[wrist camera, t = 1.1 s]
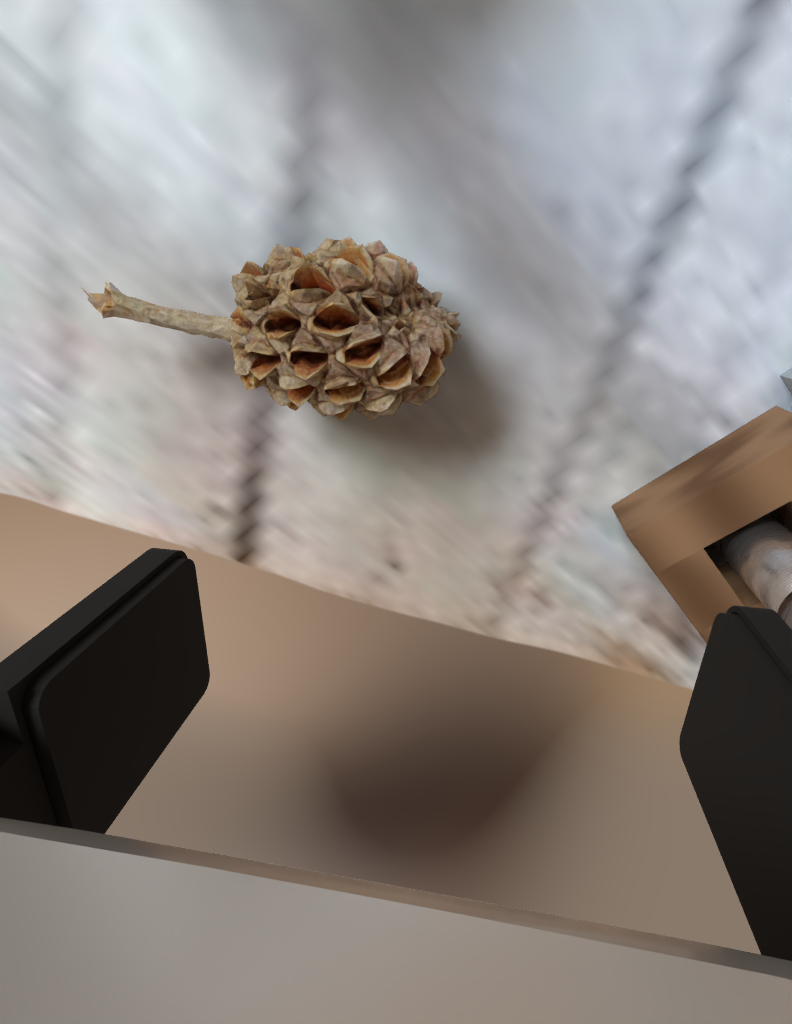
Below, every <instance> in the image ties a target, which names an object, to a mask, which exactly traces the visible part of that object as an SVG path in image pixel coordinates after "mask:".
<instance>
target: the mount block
mask: <svg viewBox="0 0 792 1024" xmlns="http://www.w3.org/2000/svg"><path fill="white" fill-rule="evenodd" d="M612 508H613V510H614V512H615V514H616V516H617V518H618V519H619V521H620V523H621V525H622V527H623V529H624V531H625V533H626V534H627V536H628V538H629V539H630V541H631V542H632V543H633V545H634V546H635V547H636V549H637V550H638V551H639V553H640V554H641V555H642V557H643V558H644V559H645V561H646V562H647V563H648V565H649V566H650V568H651V569H652V570H653V572H654V573H655V574H656V576H657V577H658V578H659V580H660V581H661V582H662V584H663V585H664V586H665V588H666V589H667V590H668V592H669V593H670V594H671V596H672V597H673V599H674V600H675V601H676V603H677V604H678V605H679V607H680V608H681V609H682V611H683V612H684V613H685V615H686V616H687V617H688V619H689V620H690V621H691V623H692V624H693V625H694V627H695V628H696V629H697V631H698V632H699V634H700V635H701V636H702V638H703V639H704V640H705V642H706V643H707V642H708V639H709V636H710V632H711V629H712V625H713V622H714V619H715V617H716V616H717V614H719V613H726V612H727V610H728V609H729V608H730V607H732V606H734V605H735V606H745V607H755V608H765V609H767V608H766V607H765V606H764V605H763V604H762V602H761V601H760V600H759V599H758V598H757V597H756V595H755V594H754V593H753V592H752V591H751V589H750V588H749V587H748V586H747V585H746V584H745V582H744V581H743V580H742V579H741V578H740V576H739V575H738V574H737V573H736V572H735V571H734V569H733V568H732V567H731V566H730V565H729V563H727V564H725V565H723V566H721V567H719V568H717V567H716V566H715V564H714V563H713V561H712V560H711V559H710V557H709V556H708V554H707V553H706V551H705V550H704V549H703V548H705V547H706V546H708V545H710V544H712V543H714V542H716V541H718V540H719V539H721V538H723V537H725V536H727V535H729V534H731V533H732V532H734V531H736V530H738V529H740V528H742V527H744V526H745V525H747V524H749V523H751V522H753V521H755V520H757V519H758V518H760V517H762V516H764V515H766V514H768V513H769V512H771V511H773V510H775V509H776V511H777V512H778V514H779V515H780V517H781V518H782V520H783V521H784V523H785V524H786V526H787V527H788V529H789V530H790V532H791V533H792V413H791V412H789V411H786V410H784V409H782V408H779V407H777V406H775V407H773V408H772V409H770V410H768V411H767V412H765V413H763V414H762V415H760V416H759V417H757V418H755V419H754V420H752V421H750V422H749V423H747V424H745V425H744V426H742V427H740V428H739V429H737V430H736V431H734V432H732V433H731V434H729V435H727V436H726V437H724V438H722V439H721V440H719V441H717V442H716V443H714V444H713V445H711V446H709V447H708V448H706V449H704V450H703V451H701V452H699V453H698V454H696V455H694V456H693V457H691V458H689V459H688V460H686V461H685V462H683V463H681V464H680V465H678V466H676V467H675V468H673V469H671V470H670V471H668V472H666V473H665V474H663V475H662V476H660V477H658V478H657V479H655V480H653V481H652V482H650V483H648V484H647V485H645V486H643V487H642V488H640V489H639V490H637V491H635V492H634V493H632V494H630V495H629V496H627V497H625V498H624V499H622V500H620V501H619V502H617V503H615V504H614V505H612Z"/></svg>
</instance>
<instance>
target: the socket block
mask: <svg viewBox="0 0 792 1024" xmlns="http://www.w3.org/2000/svg"><path fill="white" fill-rule="evenodd" d="M781 377H782V379H783V381H784V382H785V384H786V385H787V387H788V389H789V390H790V392H791V394H792V369H790V370H789V371H787V372H785V373H784V374H782V375H781Z"/></svg>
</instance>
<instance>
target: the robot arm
mask: <svg viewBox="0 0 792 1024" xmlns="http://www.w3.org/2000/svg"><path fill="white" fill-rule="evenodd" d="M209 678H210V672H209V664H208V657H207V649H206V642H205V635H204V627H203V621H202V613H201V605H200V598H199V591H198V583H197V576H196V569H195V564H194V562H193V561H192V560H191V559H188V558H187V556H186V554H185V553H184V552H183V551H179V550H169V549H168V550H167V549H159V548H151V549H149V550H147V551H146V552H145V553H144V554H142V555H141V556H140V557H138V558H137V559H136V560H134V561H133V562H132V563H130V564H129V565H128V566H127V567H125V568H124V569H123V570H121V571H120V572H119V573H117V574H116V575H115V576H113V577H112V578H111V579H109V580H108V581H107V582H106V583H104V584H103V585H102V586H100V587H99V588H98V589H96V590H95V591H94V592H92V593H91V594H90V595H88V596H87V597H86V598H84V599H83V600H82V601H81V602H79V603H78V604H77V605H75V606H74V607H73V608H71V609H70V610H69V611H67V612H66V613H65V614H63V615H62V616H61V617H60V618H58V619H57V620H56V621H54V622H53V623H52V624H50V625H49V626H48V627H47V628H45V629H44V630H42V631H41V632H40V633H39V634H37V635H36V636H35V637H33V638H32V639H31V640H29V641H28V642H27V643H25V644H24V645H23V646H21V647H20V648H19V649H17V650H16V651H15V652H14V653H12V654H11V655H10V656H8V657H7V658H6V659H5V660H3V661H2V662H0V1024H792V629H791V628H790V627H789V626H788V625H787V624H786V622H785V621H784V620H783V619H782V618H781V617H780V616H779V614H778V613H777V612H775V611H774V610H772V609H765V608H755V607H745V606H735V605H734V606H732V607H730V608H729V609H728V610H727V612H726V613H719V614H717V616H716V617H715V619H714V622H713V625H712V629H711V632H710V636H709V639H708V642H707V646H706V649H705V653H704V656H703V659H702V663H701V666H700V670H699V673H698V676H697V680H696V683H695V687H694V690H693V693H692V697H691V700H690V704H689V707H688V711H687V714H686V718H685V721H684V724H683V728H682V731H681V735H680V753H681V757H682V760H683V762H684V765H685V767H686V769H687V772H688V774H689V777H690V780H691V782H692V784H693V787H694V789H695V792H696V794H697V797H698V799H699V802H700V804H701V807H702V809H703V811H704V814H705V817H706V819H707V821H708V824H709V826H710V829H711V831H712V834H713V836H714V839H715V841H716V844H717V846H718V849H719V851H720V854H721V856H722V858H723V861H724V863H725V866H726V868H727V871H728V873H729V875H730V878H731V881H732V883H733V885H734V888H735V891H736V893H737V895H738V898H739V900H740V903H741V905H742V908H743V910H744V913H745V915H746V918H747V920H748V922H749V925H750V928H751V930H752V932H753V935H754V937H755V940H756V942H757V945H758V947H759V950H760V952H761V955H759V954H754V953H749V952H744V951H740V950H734V949H730V948H725V947H720V946H715V945H710V944H705V943H700V942H694V941H689V940H684V939H678V938H673V937H668V936H662V935H657V934H652V933H646V932H641V931H636V930H630V929H625V928H620V927H614V926H609V925H604V924H598V923H593V922H587V921H582V920H577V919H572V918H566V917H561V916H555V915H550V914H545V913H539V912H534V911H529V910H523V909H518V908H513V907H508V906H502V905H497V904H491V903H485V902H481V901H475V900H470V899H464V898H459V897H453V896H448V895H442V894H437V893H431V892H426V891H420V890H414V889H409V888H404V887H398V886H393V885H387V884H382V883H377V882H371V881H366V880H360V879H354V878H349V877H343V876H337V875H332V874H327V873H321V872H315V871H310V870H305V869H299V868H293V867H288V866H282V865H277V864H271V863H266V862H260V861H254V860H249V859H243V858H237V857H231V856H226V855H220V854H215V853H208V852H203V851H198V850H192V849H186V848H180V847H175V846H169V845H163V844H157V843H151V842H146V841H140V840H135V839H129V838H123V837H118V836H112V835H106V834H105V832H106V831H107V829H108V828H109V827H110V825H111V824H112V823H113V821H114V820H115V818H116V817H117V816H118V814H119V813H120V811H121V810H122V809H123V807H124V806H125V804H126V803H127V801H128V800H129V799H130V797H131V796H132V794H133V793H134V791H135V790H136V789H137V787H138V786H139V785H140V783H141V782H142V780H143V779H144V778H145V776H146V775H147V773H148V772H149V770H150V769H151V767H152V766H153V765H154V763H155V762H156V760H157V759H158V758H159V756H160V755H161V753H162V752H163V751H164V749H165V748H166V746H167V745H168V744H169V742H170V741H171V739H172V738H173V737H174V735H175V734H176V732H177V731H178V730H179V728H180V727H181V725H182V724H183V723H184V721H185V720H186V718H187V717H188V715H189V714H190V713H191V711H192V710H193V708H194V707H195V706H196V704H197V703H198V701H199V700H200V699H201V697H202V696H203V694H204V693H205V691H206V689H207V686H208V683H209Z"/></svg>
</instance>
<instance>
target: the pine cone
mask: <svg viewBox="0 0 792 1024" xmlns="http://www.w3.org/2000/svg"><path fill="white" fill-rule="evenodd" d="M417 279H418V272H417V268H416V266H415V265H414V264H413V263H412V262H409V263H407V259H404V258H401V257H399V256H396V255H394V254H391V253H388V250H387V248H386V247H385V246H384V245H383V243H382V242H381V241H380V240H379V241H375V242H372V243H368V244H367V245H366V246H365V247H364V246H363V244H362V245H356V243H355V242H354V241H353V240H352V238H351V237H350V236H349V237H347V238H345V239H343V240H332V239H328V238H327V239H326V240H325V241H324V242H323V243H322V244H321V246H320V247H318V248H317V249H316V250H315V251H314V252H313V253H312V254H310V253H308V254H307V255H306V256H304V255H303V254H302V252H301V249H300V248H296V247H285V246H282V245H279V244H277V245H276V246H275V247H274V248H273V249H272V251H271V253H270V255H269V258H268V260H267V262H266V263H264V266H263V268H261V267H259V266H258V265H256V264H255V263H253V262H246V263H245V265H244V267H243V269H242V271H241V273H240V274H237V275H233V276H232V285H233V288H234V290H235V292H236V297H235V301H236V304H237V309H236V310H235V311H234V312H233V313H232V315H231V317H232V318H227V317H221V316H209V315H204V314H200V313H197V312H192V311H185V310H179V309H172V308H167V307H162V306H158V305H155V304H152V303H149V302H146V301H143V300H140V299H137V298H133V297H127V296H126V295H124V294H122V293H121V292H120V291H119V290H118V289H117V288H116V287H115V286H114V285H113V284H112V283H111V282H106V281H105V283H106V287H105V292H104V294H91V293H88V292H87V291H86V290H84V289H83V288H82V289H83V291H84V292H85V293H86V294H87V295H88V296H89V297H88V300H89V301H90V303H91V304H92V305H93V306H94V307H95V308H96V309H97V310H98V311H99V312H101V313H102V316H103V318H107V317H113V316H114V317H119V318H126V319H131V320H135V321H139V322H145V323H150V324H154V325H158V326H161V327H166V328H171V329H176V330H180V331H183V332H186V333H189V334H192V335H204V336H207V337H210V338H220V339H224V340H227V341H230V342H231V346H232V348H233V355H234V361H235V368H234V370H235V373H236V375H242V376H241V377H240V378H241V380H242V382H243V383H244V385H245V387H246V389H247V390H248V389H253V388H257V387H259V386H264V387H265V388H266V390H267V392H268V394H269V395H270V396H271V397H272V398H273V400H275V401H276V402H277V403H278V404H279V405H280V406H285V405H288V407H289V408H291V409H293V410H297V409H298V408H299V407H300V406H301V405H302V404H304V403H305V402H306V401H308V402H309V403H310V404H311V405H312V406H313V407H314V408H315V409H316V410H317V411H318V412H319V413H321V414H322V415H323V416H326V415H330V416H331V415H332V416H334V417H336V418H338V419H339V420H341V421H344V420H345V418H346V417H347V416H348V415H349V414H350V413H351V411H352V410H353V409H355V410H356V411H359V412H360V413H361V414H363V415H364V416H366V417H368V418H370V419H372V420H374V419H375V418H377V417H378V416H379V415H394V414H395V413H396V412H397V410H398V409H399V408H400V405H401V402H410V403H412V404H415V405H417V406H421V405H423V404H424V403H426V402H427V400H428V399H430V398H433V397H436V394H437V392H438V390H439V387H440V384H439V383H438V381H437V380H438V379H439V377H440V376H443V375H444V374H445V373H446V370H445V367H444V364H443V362H442V361H443V360H444V359H445V358H446V357H448V355H450V354H451V353H452V349H453V345H454V343H455V342H457V340H458V339H459V338H460V337H461V335H460V334H458V333H457V332H456V331H457V329H458V327H459V326H460V324H461V323H460V322H459V321H458V320H457V319H456V317H457V316H458V314H459V313H455V312H449V311H447V310H446V309H444V308H443V307H440V308H438V303H439V301H440V300H441V296H442V293H439V292H435V293H432V294H431V293H430V292H429V291H428V290H426V289H425V288H424V287H422V285H420V284H419V283H417Z"/></svg>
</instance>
